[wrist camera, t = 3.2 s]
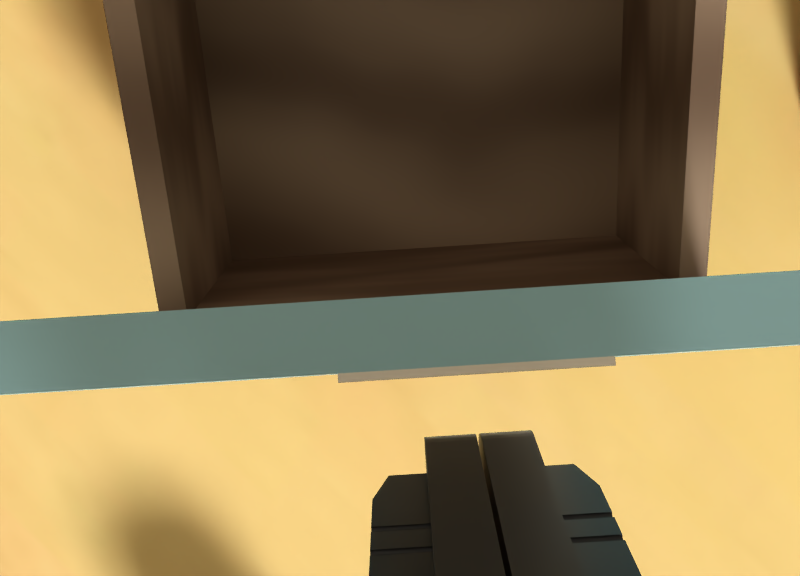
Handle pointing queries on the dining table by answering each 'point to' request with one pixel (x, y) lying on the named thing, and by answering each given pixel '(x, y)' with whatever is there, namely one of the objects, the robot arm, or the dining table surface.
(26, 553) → the dining table surface
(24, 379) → the lid
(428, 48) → the box
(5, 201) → the dining table surface
